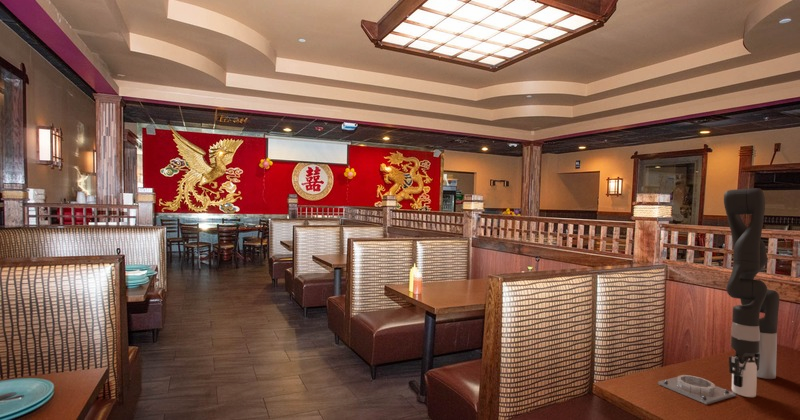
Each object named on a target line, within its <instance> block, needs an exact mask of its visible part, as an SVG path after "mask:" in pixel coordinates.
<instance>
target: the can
mask: <svg viewBox="0 0 800 420" xmlns="http://www.w3.org/2000/svg"><path fill="white" fill-rule="evenodd" d="M744 363H745V361H744ZM739 366H740V367H743V366H744V364H741V363H739ZM733 369H734V368H733ZM740 370H741V369H740ZM742 377H743V382H742V387H738V386H735V385H734V374H732V373H731V392H734V393H735V395H738V396H741V397H744V398H749V399H751V398H755V397H757V381H758V379H757V378H758V377H757V365H756V363H755V360H754V362H753V361H750V362H748V363H747V364H746V370H745V371H743V376H742Z"/></svg>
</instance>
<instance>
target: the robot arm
mask: <svg viewBox="0 0 800 420" xmlns="http://www.w3.org/2000/svg"><path fill="white" fill-rule="evenodd" d="M765 196H766V195H765V194H764V191H763V189H761V188H757V187H756V188H755V187H754V188H741V189H730V190H726V191H725V192H724V194H723V204H724V205H723V206H724V209H725V214H726V218H727V221H728V225H729V228H730V233H731V235H730V236H731V242H732V249H733V250H732V252H733V255H732V256H733V257H732V260H733V261H732V262H733V263H732V271H731V274H730V276H729V278H728V282H727V285H726V292H727V295H728V296H729V297H731V298H733V299H739V300H740V304H738V305H737V304H736V305H735V306H733V307H732V317H731V318H732V322H731V323H732V324H731V330H730V348H731V349H732V350H734V351H735V354H734V356H731V355H729V357H728V363H729V364H728V368H729V370H728V371H729V373H730V374H731V375H732V374H734V385H735V386H738V387H742V382H743V377H742V376H743V371H745V370H746V364H747V363H748V362H750V361H753V362H754V360H755V363H756V365H757V378H760V379H764V380H765V379H767V380H773V379H774V380H775V379H776V378H777V352H778V351H777V348H778V346H777V345H778V342H777V341H778V339H777V338H778V324H779V323H778V322H779V311H780V295H779V292H778V291H776V290H774V289H773V290H772V289H768V286H767V285H766V283H765V282H764V281H763V280H759V279H755V278H756V276H757V275H758V273H760V271H762V269H763V268H764V267H765V266H766V264H767V263H768V255H767V254H768V253H767V248H766V243H765V242H764V241H763V240H762V239H761V238H762V233H763V226H764V219H765V210H766V198H765ZM742 215H751V219H750V222H749V224H748V226H747V225H746V223H745V221H743V219H742V217H741V216H742ZM760 314H764V317H760ZM744 361H745V363H744ZM739 363H741V364H744V366H743V367H740V366H739ZM733 368H734V369H733ZM740 369H741V370H740Z"/></svg>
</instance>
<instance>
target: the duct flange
mask: <svg viewBox="0 0 800 420" xmlns="http://www.w3.org/2000/svg"><path fill="white" fill-rule="evenodd" d="M657 384H658V386H661V387H663V388H666V389H669V390H670V391H672V392H675V393H678V394H680V395H682V396H684V397H687V398H690V399H692V400H694V401H697V402H699V403H702V404H704V405H706V406H707V405H710V404H714V403H716V402H720V401H724V400H726V399H730V398H733V397H736V393H734V392H733V391H732V390H731V391H730V390H729V389H725V388H722V387H720V386H717V385H715V383H713V382H712V381H710V380H708V379H705V378H703V377H700V376H694V375H690V374H681V375H678V376H676V377H675V376H674V377H671V378H667V379H663V380H658V381H657Z"/></svg>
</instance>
